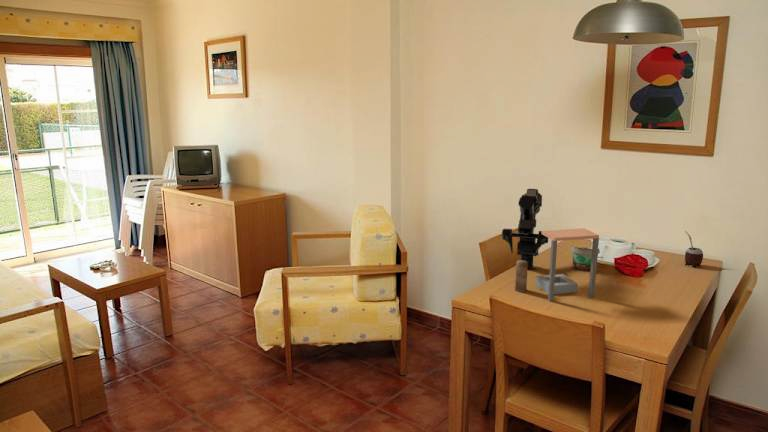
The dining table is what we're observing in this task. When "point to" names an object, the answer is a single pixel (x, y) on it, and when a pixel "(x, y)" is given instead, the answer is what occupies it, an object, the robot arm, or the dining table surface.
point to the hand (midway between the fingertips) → (523, 253)
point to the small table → (560, 281)
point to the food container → (582, 258)
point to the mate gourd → (693, 255)
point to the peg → (521, 276)
